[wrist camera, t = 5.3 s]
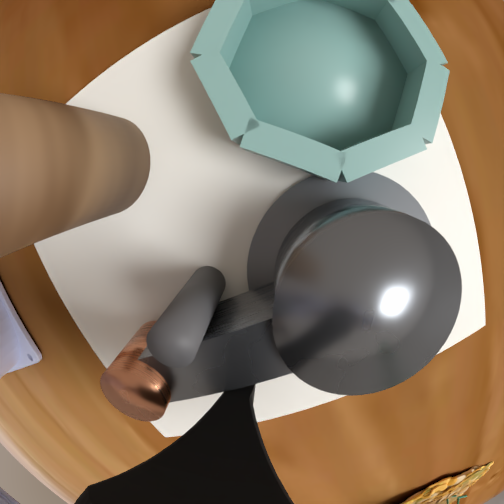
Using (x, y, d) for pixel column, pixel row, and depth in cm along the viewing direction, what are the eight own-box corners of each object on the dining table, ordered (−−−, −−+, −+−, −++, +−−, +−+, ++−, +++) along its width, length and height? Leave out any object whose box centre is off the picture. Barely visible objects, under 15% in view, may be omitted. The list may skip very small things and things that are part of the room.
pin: (93, 231, 10) (-59, 304, 3) (60, 151, 9) (-92, 166, 2) (167, 184, 9) (-14, 228, 2) (127, 97, 8) (-39, 48, 2)
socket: (270, 208, 9) (268, 217, 7) (181, 33, 8) (163, 11, 6) (448, 133, 8) (477, 129, 6) (355, -25, 6) (365, -50, 5)
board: (169, 427, 14) (142, 493, 9) (17, 167, 10) (-57, 178, 6) (476, 317, 10) (532, 373, 6) (344, -23, 7) (370, -95, 2)
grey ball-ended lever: (393, 175, 8) (447, 181, 5) (427, 306, 9) (470, 354, 6) (112, 294, 10) (63, 337, 7) (175, 392, 11) (151, 447, 8)
